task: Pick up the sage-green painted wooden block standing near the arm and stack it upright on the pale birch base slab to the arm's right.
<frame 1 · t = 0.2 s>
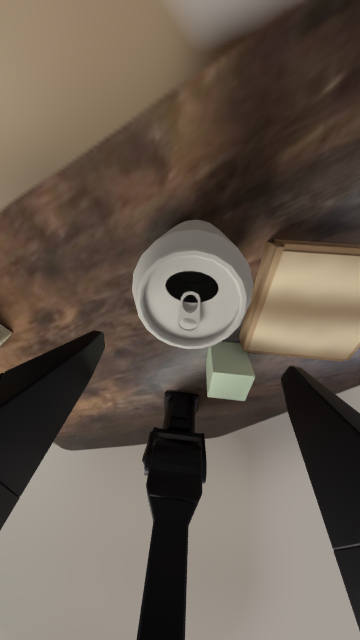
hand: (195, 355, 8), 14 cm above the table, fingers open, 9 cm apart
base slab: (305, 301, 21), on the table
green block: (223, 354, 27), on the table
can: (193, 257, 20), on the table
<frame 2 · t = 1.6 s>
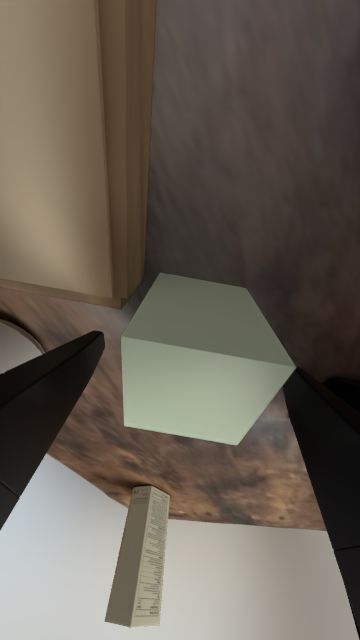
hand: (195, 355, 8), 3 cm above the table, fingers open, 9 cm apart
skincare box: (153, 489, 32), on the table
green block: (194, 316, 11), on the table
can: (12, 345, 14), on the table
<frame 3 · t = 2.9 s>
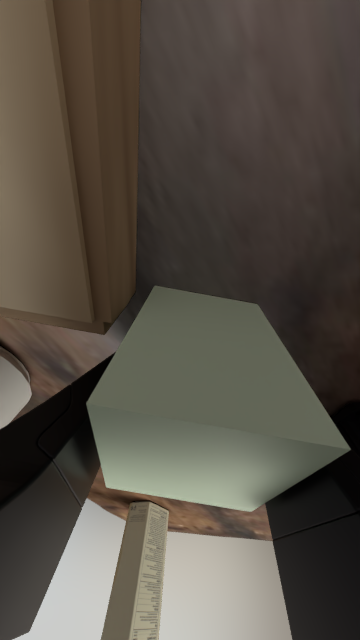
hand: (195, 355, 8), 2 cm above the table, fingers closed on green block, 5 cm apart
skincare box: (151, 504, 30), on the table
green block: (195, 335, 10), on the table, touching gripper
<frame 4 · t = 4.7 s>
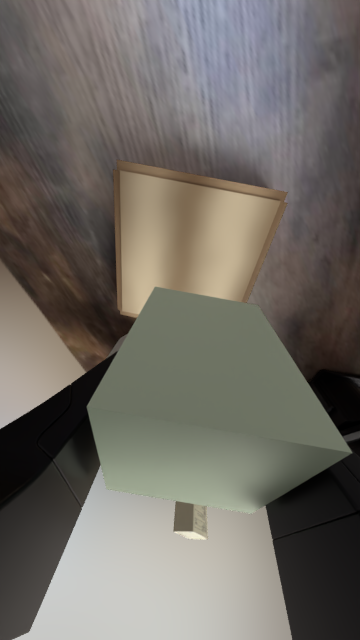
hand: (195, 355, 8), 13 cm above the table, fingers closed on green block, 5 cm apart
skincare box: (193, 457, 43), on the table
base slab: (187, 260, 18), on the table
green block: (195, 336, 10), point 11 cm above the table, touching gripper
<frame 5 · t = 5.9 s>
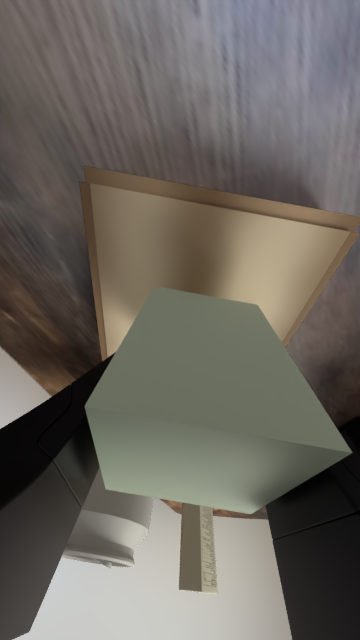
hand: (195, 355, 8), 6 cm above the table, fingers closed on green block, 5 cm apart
skincare box: (197, 489, 39), on the table
base slab: (195, 298, 14), on the table
green block: (195, 336, 10), point 5 cm above the table, touching gripper
can: (138, 393, 21), on the table
when the fingers open (5 cm above the table, at t = 6.9 s): green block stays where it is, resting on base slab.
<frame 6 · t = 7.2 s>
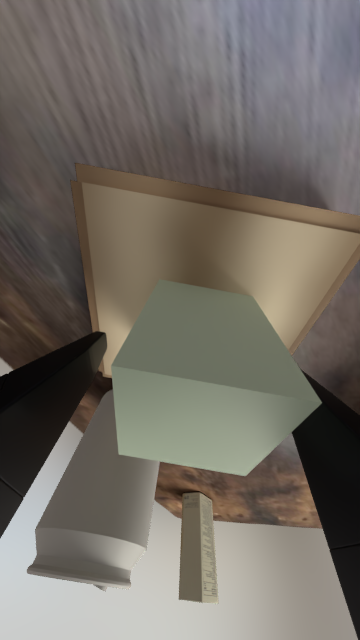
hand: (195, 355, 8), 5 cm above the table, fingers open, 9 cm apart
skincare box: (198, 495, 38), on the table
base slab: (195, 303, 13), on the table
green block: (196, 326, 10), point 3 cm above the table, touching base slab
can: (137, 399, 21), on the table
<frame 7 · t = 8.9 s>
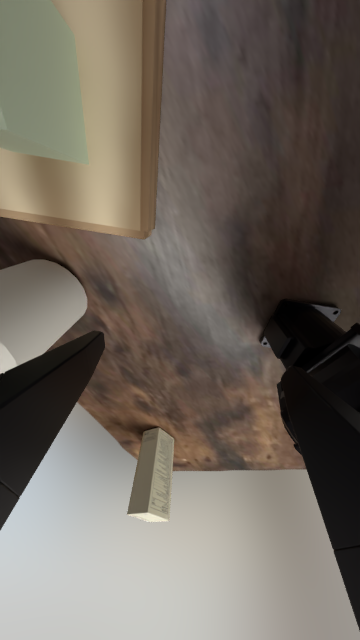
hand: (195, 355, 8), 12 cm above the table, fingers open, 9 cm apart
skincare box: (160, 434, 38), on the table
base slab: (69, 121, 13), on the table
green block: (39, 100, 10), point 3 cm above the table, touching base slab
can: (60, 289, 20), on the table
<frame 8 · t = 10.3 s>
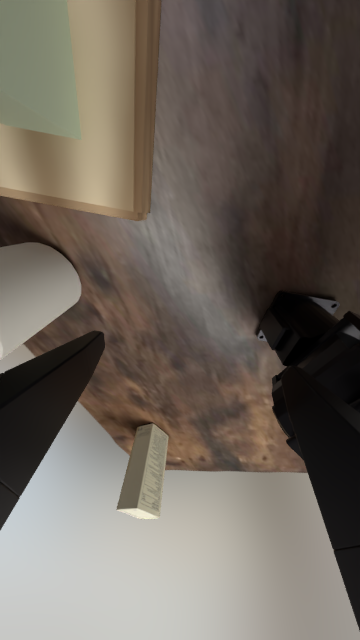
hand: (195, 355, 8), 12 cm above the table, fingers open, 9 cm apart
skincare box: (154, 430, 37), on the table
base slab: (64, 98, 12), on the table
green block: (32, 71, 10), point 3 cm above the table, touching base slab
can: (54, 275, 20), on the table
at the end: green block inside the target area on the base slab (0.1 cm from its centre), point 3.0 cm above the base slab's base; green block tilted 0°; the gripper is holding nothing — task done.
